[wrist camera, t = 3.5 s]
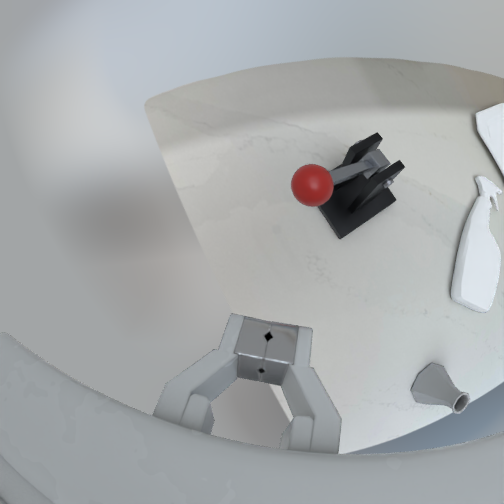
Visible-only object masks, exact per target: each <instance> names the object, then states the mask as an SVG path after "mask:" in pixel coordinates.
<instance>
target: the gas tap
mask: <svg viewBox="0 0 504 504" xmlns="http://www.w3.org/2000/svg"><path fill="white" fill-rule="evenodd" d="M382 139H383V138H382V137H381V136H380V135H379V134H378V133H375V134H373V135H371V136H370V137H368V138H366V139H364V140H360V141H358V142H356V143H355V144H354V145H353V146H351V147H350V148H349V150H348V152H347V155H346V157H345V159H344V161H343V163H342V164H341V165H340V166H338V167H336V168H335V169H338V168H341V167H345V166H348V165H351V164H354V163H357V162H358V161H359V160H360V159H361V158H362V157H363V156H364V155H365V154H366V153H367V152H369V151H373V150H376V149H377V147H378V146H379V144H380V142H381V141H382ZM404 168H405V166H404V165H403V164H402V162H401V161H400V160H399V161H397V162H396V163H394V164H392V165H391V166H389V167H388V168H386V169H384V170H383V171H381V172H380V173H378V174H377V175H375V176H373V177H372V178H370V179H367V178H366V177H365V176H364V174H362V175H359V176H356V177H354V178H351V179H349V180H346V181H343V182H341V183H338V184H336V185H334V189H333V193H332V195H331V197H330V198H329V200H328V201H327V202H325V203H324V204H322V205H320V206H317V207H318V208H319V209H320V211H321V212H322V214H323V215H324V217H325V218H326V220H327V221H328V223H329V224H330V226H331V227H332V229H333V230H334V232H335V233H336V235H337V236H338V238H339V239H341V238H343V237H344V236H346V235H347V234H349V233H350V232H352V231H353V230H355V229H356V228H358V227H359V226H360V225H362V224H363V223H365V222H366V221H368V220H369V219H371V218H372V217H374V216H375V215H376V214H378V213H379V212H381V211H382V210H384V209H385V208H386V207H388V206H389V205H391V204H392V203H393V202H395V201H396V198H395V197H394V196H393V194H392V193H391V191H390V190H389V188H388V186H390V185H391V184H392V183H393V182H394V181H393V179H394V178H395V177H396V176H397V175H398V174H399V173H400V172H401V171H402V170H403V169H404ZM335 169H333V170H335ZM331 171H332V170H331Z"/></svg>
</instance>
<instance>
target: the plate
mask: <svg viewBox="0 0 504 504" xmlns="http://www.w3.org/2000/svg"><path fill="white" fill-rule="evenodd" d="M475 117H476V124H477V131H478V133H479V135H480V136H481V138H482V139H483V141H484V143H485V144H486V146H487V147H488V149H489V151H490V152H491V154H492V156H493V157H494V159H495V161H496V163H497V165H498V166H499V168H500V170H501V172H502V174H503V176H504V103H501V104H498V105H495V106H493V107H490V108H487V109H485V110H482V111H480V112H477V113H476V114H475Z"/></svg>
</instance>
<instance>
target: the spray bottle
mask: <svg viewBox="0 0 504 504" xmlns="http://www.w3.org/2000/svg"><path fill="white" fill-rule="evenodd" d="M475 180H476V182H477V184H478V187H479V193H480V196H479V197H477V199H476V201H475V203H474V205H473V207H472V209H471V212H470V214H469V216H468V218H467V221H466V223H465V226H464V229H463V233H462V236H461V240H460V244H459V249H458V253H457V258H456V264H455V269H454V275H453V280H452V287H451V297H452V300H454V301H455V302H457V303H459V304H461V305H463V306H465V307H467V308H469V309H471V310H474V311H477V312H480V313H486V312H488V311H489V309H490V307H491V305H492V303H493V300H494V296H495V292H496V288H497V284H498V280H499V273H500V266H501V256H500V249H499V247H498V245H497V243H496V241H495V238H494V236H493V235H492V233H491V232H490V230H489V223H490V221H489V217H490V209H491V207H492V204H491V201H490V196H491V197H492V199H493V201H494V204H495V207H496V209H497V211H499V208H498V203H497V198H496V193H498V194H500V195H501V193H502V190H500V189H499V188H498V186H497V185H495V184H494V183H493V182H491V181H490V180H489V179H487V178H486V177H484V176H478V177H476V178H475Z"/></svg>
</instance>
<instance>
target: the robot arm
mask: <svg viewBox="0 0 504 504" xmlns="http://www.w3.org/2000/svg"><path fill="white" fill-rule="evenodd" d="M312 334H313V330H312V328H309V327H302V326H298V325H292V324H285V323H279V322H273V321H272V322H270V321H266V320H261V319H256V318H252V317H247V316H243V315H238V314H233V313H232V314H231V315H230V317H229V320H228V323H227V325H226V328H225V331H224V334H223V337H222V340H221V343H220V346H219V349H218V350H217V349H213V350H212V351H211V352H209V353H208V354H207V355H205V356H204V357H202V358H201V359H200V360H199V361H197V362H196V363H194V364H193V365H191V366H190V367H189V368H187V369H186V370H184V371H183V372H182V373H180V374H179V375H177V376H176V377H174V378H173V379H172V380H170V381H169V382H167V383H166V385H165V387H164V389H163V392H162V394H161V396H160V398H159V401H158V403H157V405H156V408H155V410H154V413H153V415H149V414H147V413H144V412H141V411H139V410H137V409H135V408H132V407H130V406H128V405H125V404H123V403H121V402H119V401H117V400H114V399H112V398H110V397H108V396H106V395H104V394H102V393H100V392H98V391H96V390H94V389H92V388H90V387H89V386H87V385H85V384H83V383H81V382H79V381H78V380H76V379H74V378H72V377H70V376H69V375H67V374H66V373H64V372H62V371H60V370H59V369H58V368H56V367H54V366H53V365H51V364H50V363H48V362H46V361H45V360H44V359H42V358H41V357H39V356H38V355H36V354H35V353H33V352H32V351H31V350H29V349H28V348H26V347H25V346H24V345H22V344H21V343H20V342H18V341H17V340H16V339H15V338H13V337H12V336H11V335H9V334H8V333H5V332H2V333H0V504H504V431H503V432H500V433H497V434H494V435H491V436H487V437H484V438H480V439H476V440H472V441H468V442H464V443H460V444H455V445H450V446H444V447H439V448H433V449H426V450H419V451H410V452H399V453H384V454H338V451H339V442H340V432H341V420H342V419H341V417H340V415H339V413H338V411H337V410H336V408H335V406H334V404H333V402H332V401H331V399H330V397H329V395H328V393H327V392H326V390H325V388H324V386H323V384H322V383H321V381H320V379H319V377H318V375H317V374H316V372H315V370H314V368H312V367H309V366H310V356H311V345H312ZM237 377H239V378H244V379H249V380H255V381H260V382H265V383H270V384H275V385H280V386H281V388H282V390H283V393H284V395H285V398H286V400H287V403H288V405H289V408H290V410H291V412H292V415H293V417H294V418H293V420H292V421H291V423H290V424H289V425H288V427H287V428H286V430H285V431H284V432H283V434H282V438H281V442H280V447H279V449H277V448H271V447H265V446H259V445H254V444H248V443H243V442H239V441H235V440H230V439H226V438H221V437H217V436H214V435H211V431H212V427H213V424H214V421H215V420H214V417H213V413H212V408H211V404H210V403H211V402H212V401H213V400H214V399H215V398H216V397H217V396H219V395H220V394H221V393H222V392H223V391H224V390H225V389H226V388H228V387H229V386H230V385H231V384H232V383H233V382H234V381H235V380H236V379H237Z"/></svg>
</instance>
